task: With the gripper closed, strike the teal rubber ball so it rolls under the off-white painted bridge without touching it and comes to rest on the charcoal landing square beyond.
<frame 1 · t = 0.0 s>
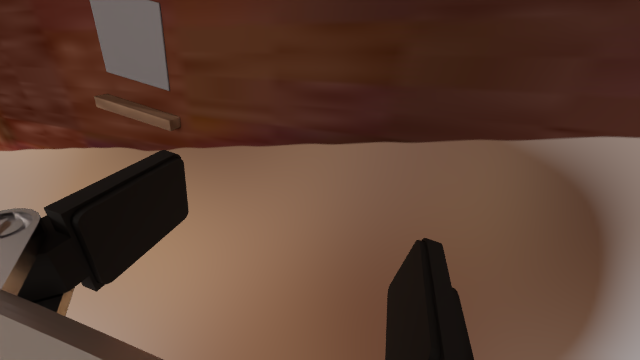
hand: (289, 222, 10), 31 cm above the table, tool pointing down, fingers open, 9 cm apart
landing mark: (131, 40, 42), on the table
stopper wall: (143, 110, 48), on the table
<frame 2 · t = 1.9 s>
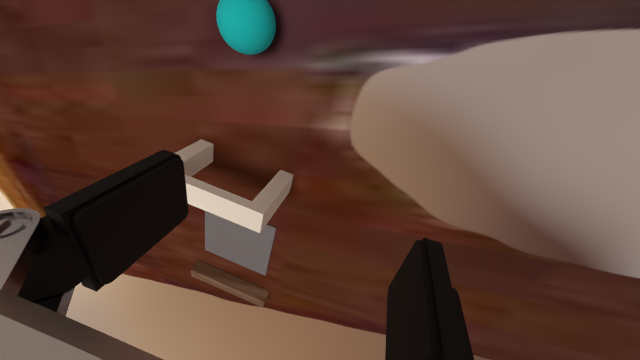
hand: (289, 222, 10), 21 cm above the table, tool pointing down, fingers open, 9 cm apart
ball: (247, 22, 24), on the table
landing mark: (237, 239, 45), on the table
stopper wall: (233, 278, 52), on the table
bridge: (245, 165, 36), on the table
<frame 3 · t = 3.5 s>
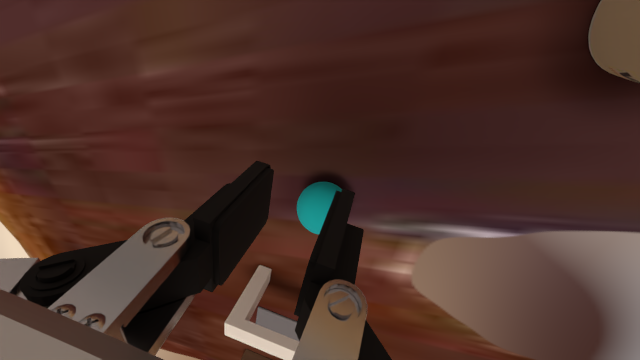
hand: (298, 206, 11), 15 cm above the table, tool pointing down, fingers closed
ball: (323, 207, 26), on the table
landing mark: (288, 338, 47), on the table
bridge: (302, 287, 38), on the table
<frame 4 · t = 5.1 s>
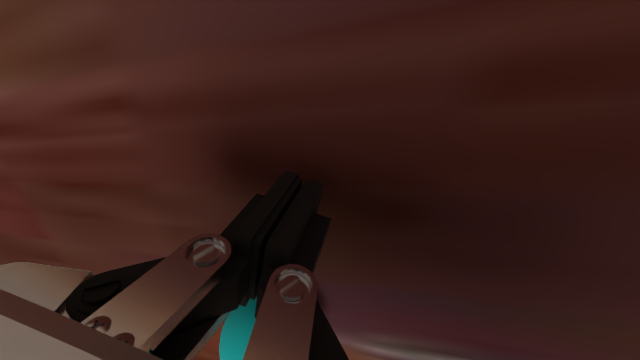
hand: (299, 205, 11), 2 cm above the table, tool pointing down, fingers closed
ball: (269, 337, 15), on the table
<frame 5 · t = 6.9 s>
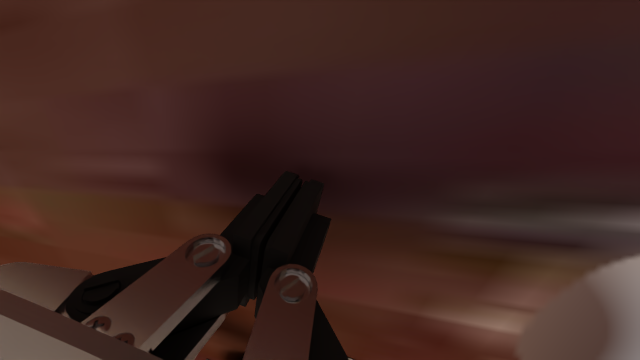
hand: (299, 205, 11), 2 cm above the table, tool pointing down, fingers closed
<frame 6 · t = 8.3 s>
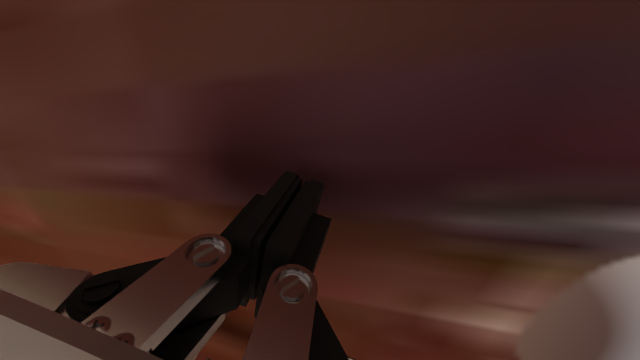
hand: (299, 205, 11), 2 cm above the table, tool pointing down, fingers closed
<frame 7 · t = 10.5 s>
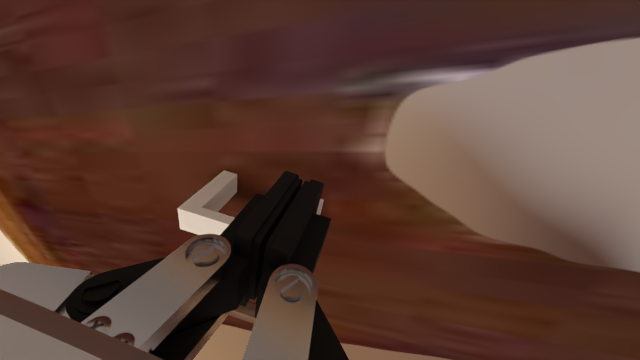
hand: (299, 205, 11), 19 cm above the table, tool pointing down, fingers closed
stopper wall: (259, 308, 49), on the table
bridge: (272, 193, 35), on the table
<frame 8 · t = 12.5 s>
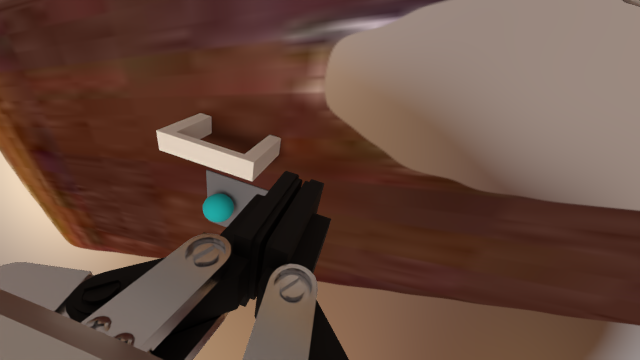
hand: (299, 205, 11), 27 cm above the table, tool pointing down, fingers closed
ball: (218, 207, 48), on the table
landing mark: (237, 206, 50), on the table
bridge: (239, 133, 42), on the table
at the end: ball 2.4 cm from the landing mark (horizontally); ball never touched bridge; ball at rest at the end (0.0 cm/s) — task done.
